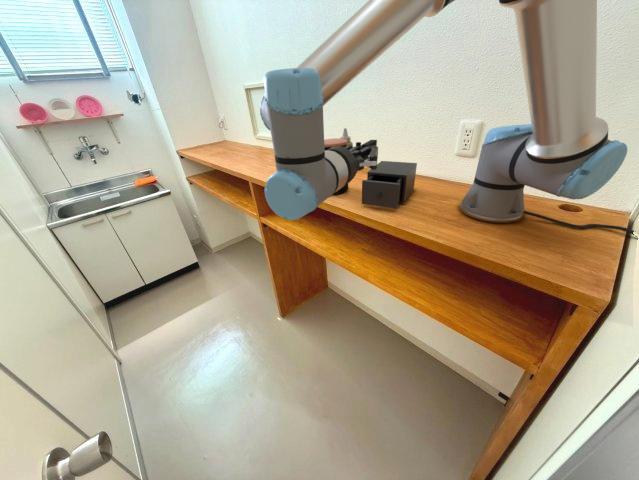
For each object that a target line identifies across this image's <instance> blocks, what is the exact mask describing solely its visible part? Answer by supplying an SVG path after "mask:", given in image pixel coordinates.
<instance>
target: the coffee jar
mask: <svg viewBox="0 0 639 480" xmlns="http://www.w3.org/2000/svg"><path fill="white" fill-rule="evenodd" d="M347 142H348V141H347V140H346V139H340V138H338V137H336V138H334V137H333V138H324V148H325V150H327V149H330V148H332V147H335V146H341V147H347V146H346V145H347ZM348 188H349V183H348V184H346V185H345V186H344V187H342V188H341V189H339V190H338V191H337V192H335V193H334V194H333V195H332V196H336V195H342V194H345V193H346V192H347V190H348Z"/></svg>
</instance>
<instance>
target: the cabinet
mask: <svg viewBox="0 0 639 480" xmlns="http://www.w3.org/2000/svg"><path fill="white" fill-rule="evenodd" d="M417 166H418V163H417V162H407V161H405V162H404V161H390V160H380V162H377V169H375V170H372V169H371V168H370V169H369V170H368V171H367V175H366V176H367V178H366V180H367V179H368V178H369V177H370V176H372V175H379V176H391V177H402V178H404V182H403V191H402V198H401V200H400V201H399V202H398V205H405V204H406V202H407V200H408V199H409V197H410V196H411V194H412V193H413V191H414V190H415V182H416V174H417Z"/></svg>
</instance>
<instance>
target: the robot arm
mask: <svg viewBox="0 0 639 480" xmlns="http://www.w3.org/2000/svg"><path fill="white" fill-rule="evenodd" d="M455 1H456V0H368V1H367V2H366V3H364V5H362V6H361V7H360V8H359V9H358V10H356V12H355V13H354V14H353V15H351V16H350V17H349V18H348V19H347V20H346V21H345V22H344V23H343V24H342V25H340V26H339V28H338V29H336V30H335V31H334V32H333V33H332V34H331V35H330V36H329V37H328V38H326V40H324V41H323V42H322V43H321V44H320V45H319V46H318V47H316V49H315V50H313V52H311V53H310V54H309V55H308V57H306V58H305V59H304V60H303V61H301V63H300V64H298V66H296V67H293V68H282V69H281V68H279V69H273V70H270V71H267V72H266V73H265V74H264V76H263V84H264V95H263V97H262V99H261V101H260V105H259V112H260V117H261V120H262V122H263V125H264V126H265V128H266V129H267V130H268V131H270V136H271V141H272V147H273V152H274V163H275V172H274V173H272V174H271V175H270V176H269V177H268V178H267V180H266V182H265V187H264V197H265V200H266V203H267V205H268V206H269V208H270V209H271V210H272V211H273V212H274V214H275V215H277V216H278V217H280V218H281V219H285V220H287V221H295V220H300V219H301V218H302V217H304V216H306V215H308V214H309V213H311V212H314V211H315V210H316V209H317V208H318V207H319V206H320V205H321V204H323V203H324V202H325V201H326V200H327V199H328V198H331V197H332V196H334V195H333V194H334V193H335V192H337V191H338V190H339V189H341V188H342V187H344V186H345V185H346V184H348V185H349V184H350V183H351V182H352V181H353V180H354V178H355V177H356V175H357V173H358V172H360V171H362V170H364V168H365V167H367V169H370V170H371V169H372V170H375V169H377V164H378V159H379V146H378V140H377V139H369V140H368V141H366V142H364V143H363V144H362V142H361V141H356V142H355V146H354V145H353V146H351V145H350V146H347V147H341V146H335V147H332V148H330V149H327V150H325V148H324V140H325V127H324V125H325V124H324V107H325V106H326V104H328V102H330V101H331V100H332V99H333V98H334V97H335V96H337V95H338V94H339V93H340V92H341V91H342V90H343V89H345V88H346V87H347V86H348V85H349V84H350V83H352V82H353V81H354V80H355V79H356V78H357V77H358V76H359V75H360V74H361V73H363V72H364V71H365V70H366V69H367V68H368V67H369V66H371V65H372V64H373V63H374V62H375V61H376V60H377V59H378V58H380V57H381V56H382V55H383V54H384V53H385V52H386V51H387V50H389V49H390V48H391V47H392V46H393V45H394V44H395V43H397V42H398V41H399V40H400V39H401V38H402V37H403V36H405V35H406V34H407V33H408V32H409V31H410V30H412V28H414V27H415V26H416V25H417V24H418V23H420V21H421V20H423V19H424V18H425V17H426V18H433V17H435V16H437V15H438V14H439V13H440V12H441V11H442V10H443V9H445V8H446V7H447V6H449V5H451V3H453V2H455ZM498 3H499V5H500V6H501V7H505V8H508V9H511V10H513V12H514V19H515V25H516V32H517V38H518V46H519V51H520V59H521V64H522V71H523V78H524V84H525V91H526V97H527V105H528V112H529V117H530V123H527V124H526V123H525V124H512V125H505V126H496V127H492V128H490V129H489V130H488V131H487V132H486V134H485V137H484V140H483V143H482V144H481V150H480V154H479V158H478V162H477V167H476V171H475V174H474V179H473V183H472V184H471V186H470V188H469V189H468V191H467V192H466V194H465V196H464V197H463V198H462V200H461V203H460V207H459V210H460V211H461V212H462V213H463V214H464V215H466V216H467V217H469V218H471V219H474V220H476V221H477V220H478V221H481V222H486V223H491V224H511V223H516V222H519V221H520V220H521V219H522V217H523V215H524V214H525V215H527V216H532V217H536V218H538V219H542V220H545V221H549V222H552V223H554V224H559V225H562V226H566V227H570V228H574V229H588V228H602V229H611V230H618V231H623V232H626V233H629V234H630V235H633V236H634V234H633V232H634V231H635V230H633V229H631V228H628V227H623V226H620V225H619V226H618V225H611V224H601V223H587V224H583V225H581V224H575V223H574V224H573V223H570V222H567V221H563V220H559V219H555V218H551V217H550V216H549V217H548V216H545V215H543V214H539V213H535V212H531V211H527V210H525V197H524V195H525V194H524V189H525V186H526V187H529V188H532V189H536V190H539V191H542V192H545V193H547V194H550V195H552V196H556V197H558V198H560V197H562V198H565V199H569V200H574V201H575V200H583V199H586V198H588V197H590V196H592V195H594V194H595V193H596V192H598V191H600V190H601V189H602V188H603V187H604V186H605V185H606V184H608V182H610V181H611V180H612V178H613V177H614V176H615V175H616V173H617V172H618V171H619V170H620V168H621V166H622V165H623V163H624V161H625V159H626V157H627V154H628V145H627V144H626V143H625V142H621V141H620V140H618V139H617V140H616V139H614V140H610V139H609V125H608V122H607V121H606V120H604V119H603V118H601V117H598V116H597V51H598V50H597V42H598V39H597V36H598V35H597V34H598V0H498Z"/></svg>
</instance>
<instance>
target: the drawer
mask: <svg viewBox="0 0 639 480" xmlns="http://www.w3.org/2000/svg"><path fill="white" fill-rule="evenodd" d="M403 182H404V178H402V177H391V176H379V175H372V176H370V177H369V178H368V179H367V178H366V179H363V180H361V205H366V206H373V207H379V208H386V209H393V210H398V208H399V204H398V202H399V201H400V200H401V198H402V191H403Z"/></svg>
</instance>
